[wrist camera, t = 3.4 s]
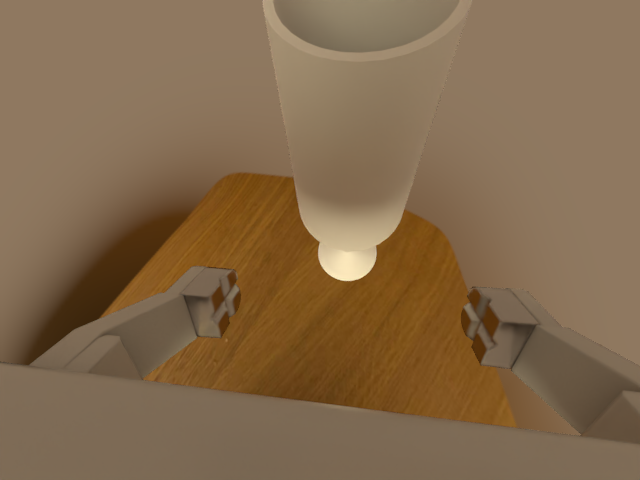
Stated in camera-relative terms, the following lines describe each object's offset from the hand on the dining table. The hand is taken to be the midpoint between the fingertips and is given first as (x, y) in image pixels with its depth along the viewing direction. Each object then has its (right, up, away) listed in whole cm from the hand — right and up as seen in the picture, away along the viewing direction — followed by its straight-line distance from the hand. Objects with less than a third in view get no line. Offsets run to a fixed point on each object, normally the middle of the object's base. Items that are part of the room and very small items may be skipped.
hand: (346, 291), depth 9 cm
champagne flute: (+2, 0, +20) cm, 20 cm away
